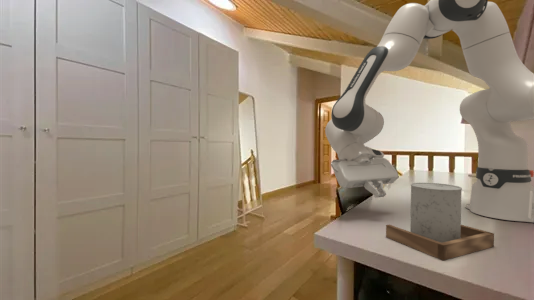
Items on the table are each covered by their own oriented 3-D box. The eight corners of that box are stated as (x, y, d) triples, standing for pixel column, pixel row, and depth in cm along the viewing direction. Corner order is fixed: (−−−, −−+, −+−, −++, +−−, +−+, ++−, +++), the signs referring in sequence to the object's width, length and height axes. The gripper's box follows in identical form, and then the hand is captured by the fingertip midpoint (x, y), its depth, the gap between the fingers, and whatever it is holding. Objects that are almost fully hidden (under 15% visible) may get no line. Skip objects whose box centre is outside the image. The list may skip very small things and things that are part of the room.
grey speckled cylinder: (471, 250, 53) (472, 190, 52) (420, 247, 54) (421, 189, 54) (446, 234, 62) (447, 183, 62) (403, 232, 63) (404, 182, 63)
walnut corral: (433, 227, 67) (433, 217, 66) (493, 246, 55) (494, 233, 55) (385, 237, 60) (386, 225, 60) (443, 260, 48) (443, 245, 48)
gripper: (333, 152, 74) (357, 192, 66) (385, 151, 82) (413, 186, 74) (324, 167, 79) (345, 206, 70) (374, 164, 87) (400, 199, 78)
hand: (381, 196), depth 72 cm, fingers closed
